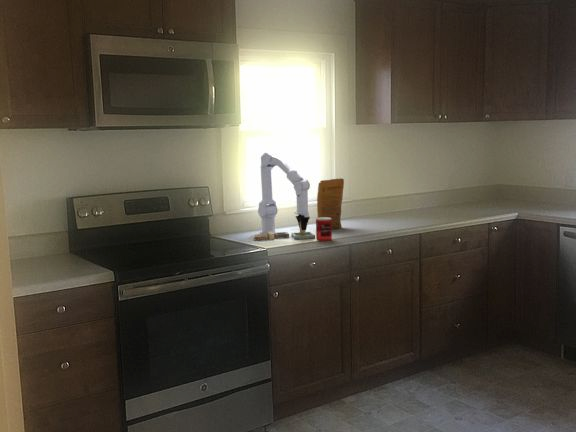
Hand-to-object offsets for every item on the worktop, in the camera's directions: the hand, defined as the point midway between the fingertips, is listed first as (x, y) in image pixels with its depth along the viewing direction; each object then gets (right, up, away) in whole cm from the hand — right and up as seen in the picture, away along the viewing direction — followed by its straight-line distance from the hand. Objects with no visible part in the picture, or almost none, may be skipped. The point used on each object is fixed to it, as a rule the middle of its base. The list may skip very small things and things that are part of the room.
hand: (302, 229), depth 333 cm
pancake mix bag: (+16, 0, +29) cm, 33 cm away
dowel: (0, -3, 0) cm, 3 cm away
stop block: (-16, -5, 0) cm, 17 cm away
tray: (0, -4, 0) cm, 4 cm away
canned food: (+10, -5, -10) cm, 15 cm away
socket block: (-11, -4, +4) cm, 12 cm away
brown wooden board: (-22, -5, -1) cm, 22 cm away
